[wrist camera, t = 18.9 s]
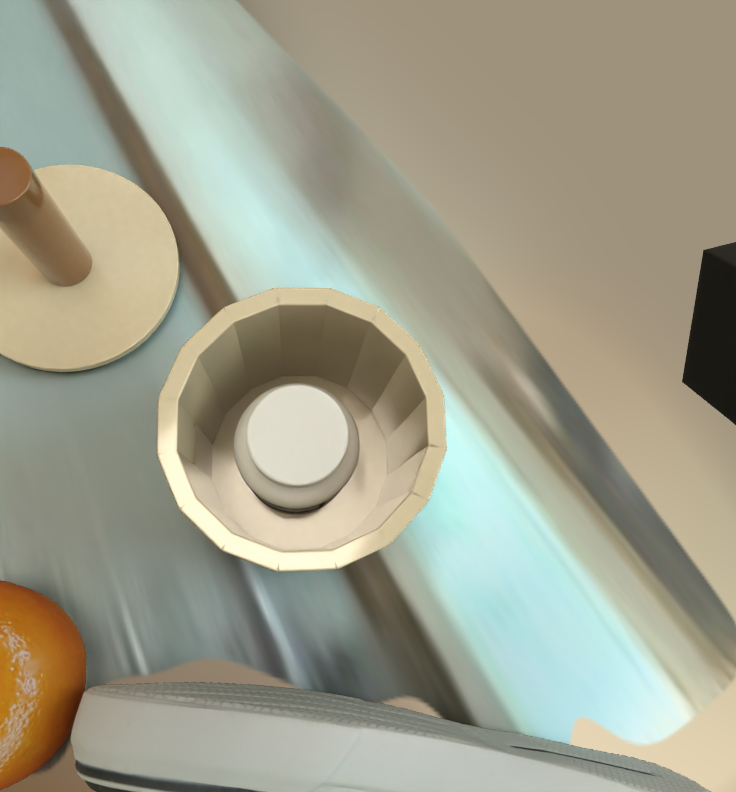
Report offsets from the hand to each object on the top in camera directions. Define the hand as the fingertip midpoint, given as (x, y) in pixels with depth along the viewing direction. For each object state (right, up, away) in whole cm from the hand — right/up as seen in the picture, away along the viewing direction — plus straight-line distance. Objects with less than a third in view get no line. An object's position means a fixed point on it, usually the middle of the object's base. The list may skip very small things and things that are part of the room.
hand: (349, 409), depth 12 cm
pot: (-3, -3, +25) cm, 26 cm away
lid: (-15, +7, +26) cm, 31 cm away
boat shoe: (+3, -14, +19) cm, 24 cm away
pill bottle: (-3, -3, +25) cm, 26 cm away
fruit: (-17, -13, +22) cm, 30 cm away
